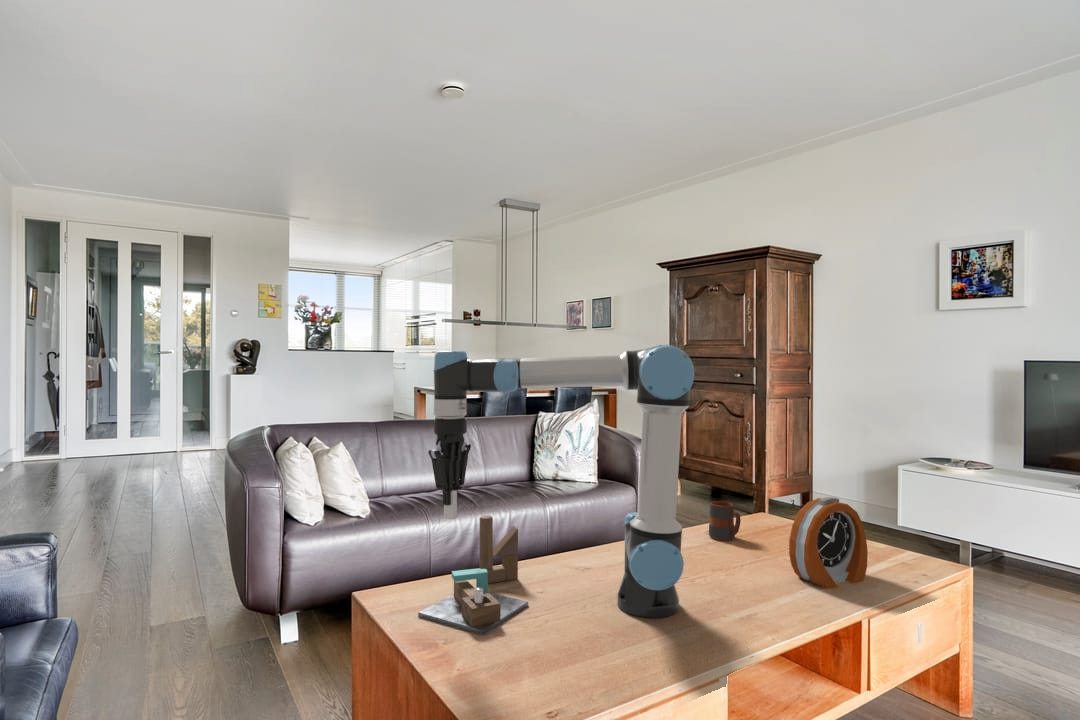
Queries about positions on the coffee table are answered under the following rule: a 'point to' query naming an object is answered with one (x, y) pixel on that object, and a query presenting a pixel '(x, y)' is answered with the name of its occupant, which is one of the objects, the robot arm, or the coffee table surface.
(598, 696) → the coffee table surface
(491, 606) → the link
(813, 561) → the alarm clock
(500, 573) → the brown wooden bracket frame
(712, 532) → the mug
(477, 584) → the keeper
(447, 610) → the base
